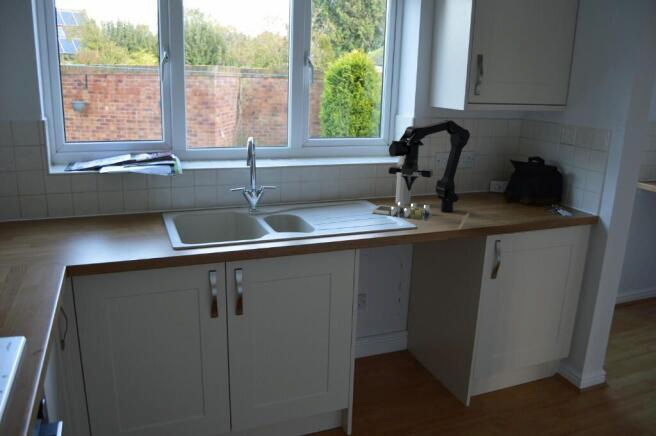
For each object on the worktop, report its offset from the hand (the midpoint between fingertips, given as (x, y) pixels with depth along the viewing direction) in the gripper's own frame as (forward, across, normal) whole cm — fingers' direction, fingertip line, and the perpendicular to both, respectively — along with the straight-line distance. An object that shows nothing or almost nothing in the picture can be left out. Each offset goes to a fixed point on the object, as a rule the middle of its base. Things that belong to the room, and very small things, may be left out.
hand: (409, 190), depth 234 cm
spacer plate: (+12, -2, 0) cm, 12 cm away
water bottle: (+12, -8, +22) cm, 26 cm away
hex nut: (+11, +4, 0) cm, 12 cm away
